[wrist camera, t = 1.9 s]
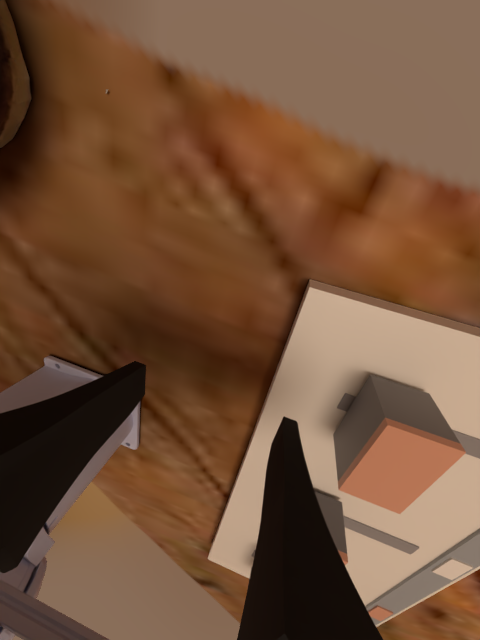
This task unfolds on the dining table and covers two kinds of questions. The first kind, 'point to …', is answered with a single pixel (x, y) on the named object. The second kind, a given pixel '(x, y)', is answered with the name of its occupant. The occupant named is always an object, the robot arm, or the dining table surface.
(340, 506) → the switch middle
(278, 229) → the dining table surface
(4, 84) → the ceramic jug
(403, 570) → the switch unit
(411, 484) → the switch
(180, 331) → the dining table surface
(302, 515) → the robot arm
